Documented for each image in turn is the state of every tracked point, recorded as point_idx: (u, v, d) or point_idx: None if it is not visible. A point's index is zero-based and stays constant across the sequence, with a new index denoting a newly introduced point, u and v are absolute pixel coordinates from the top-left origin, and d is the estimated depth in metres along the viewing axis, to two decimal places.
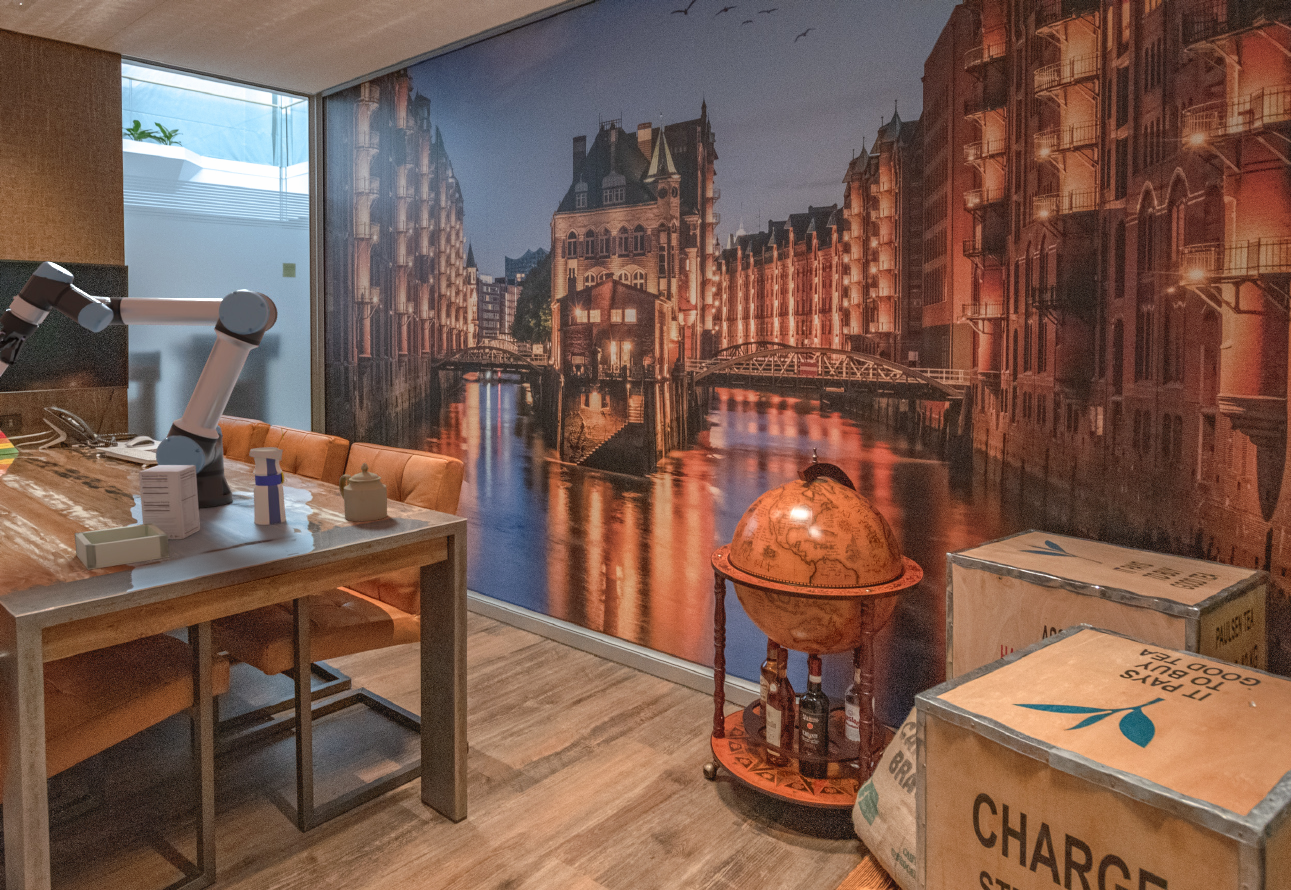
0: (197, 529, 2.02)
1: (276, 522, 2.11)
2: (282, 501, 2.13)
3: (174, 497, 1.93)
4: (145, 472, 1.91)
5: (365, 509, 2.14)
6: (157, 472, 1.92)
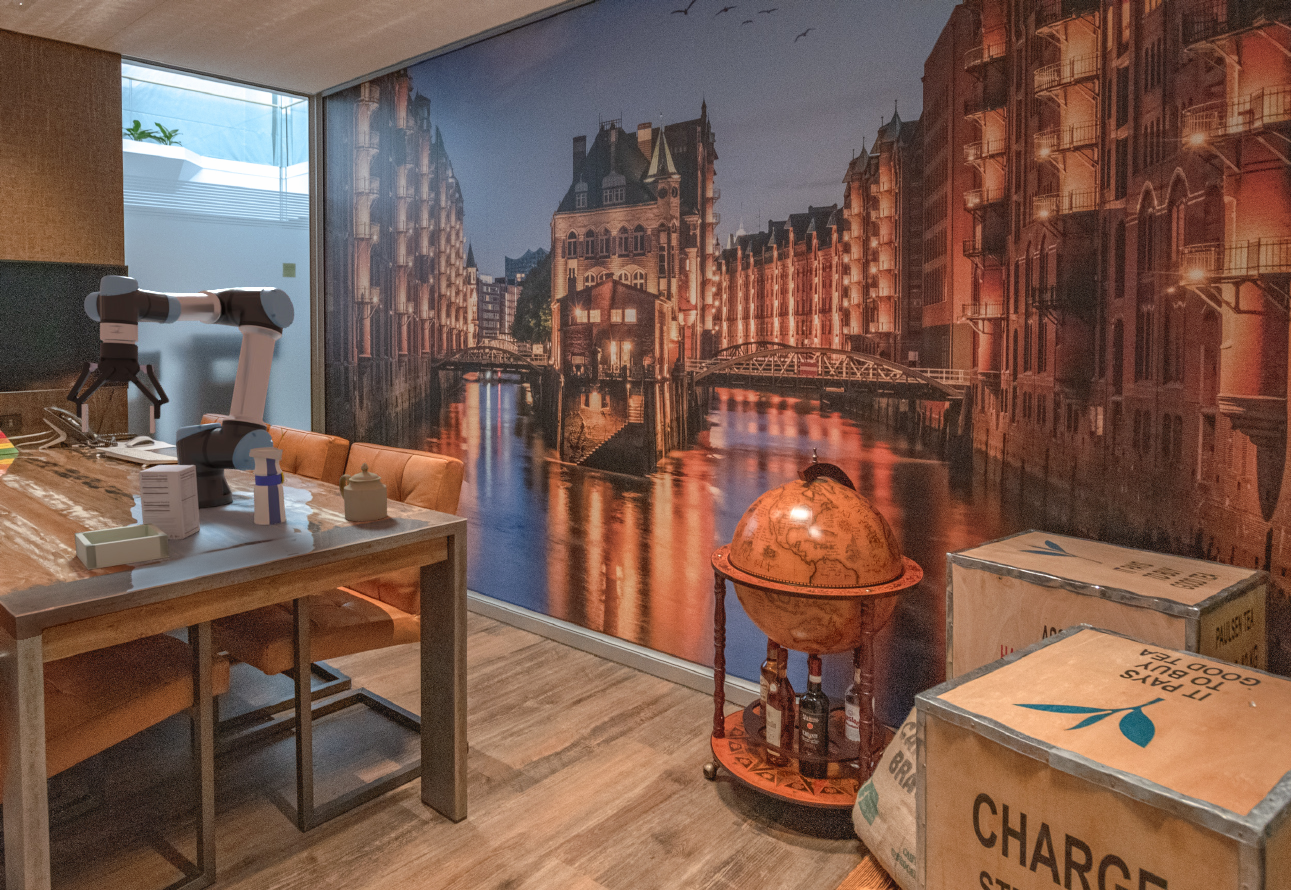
0: (197, 529, 2.02)
1: (276, 522, 2.11)
2: (282, 501, 2.13)
3: (174, 497, 1.93)
4: (145, 472, 1.91)
5: (365, 509, 2.14)
6: (157, 472, 1.92)
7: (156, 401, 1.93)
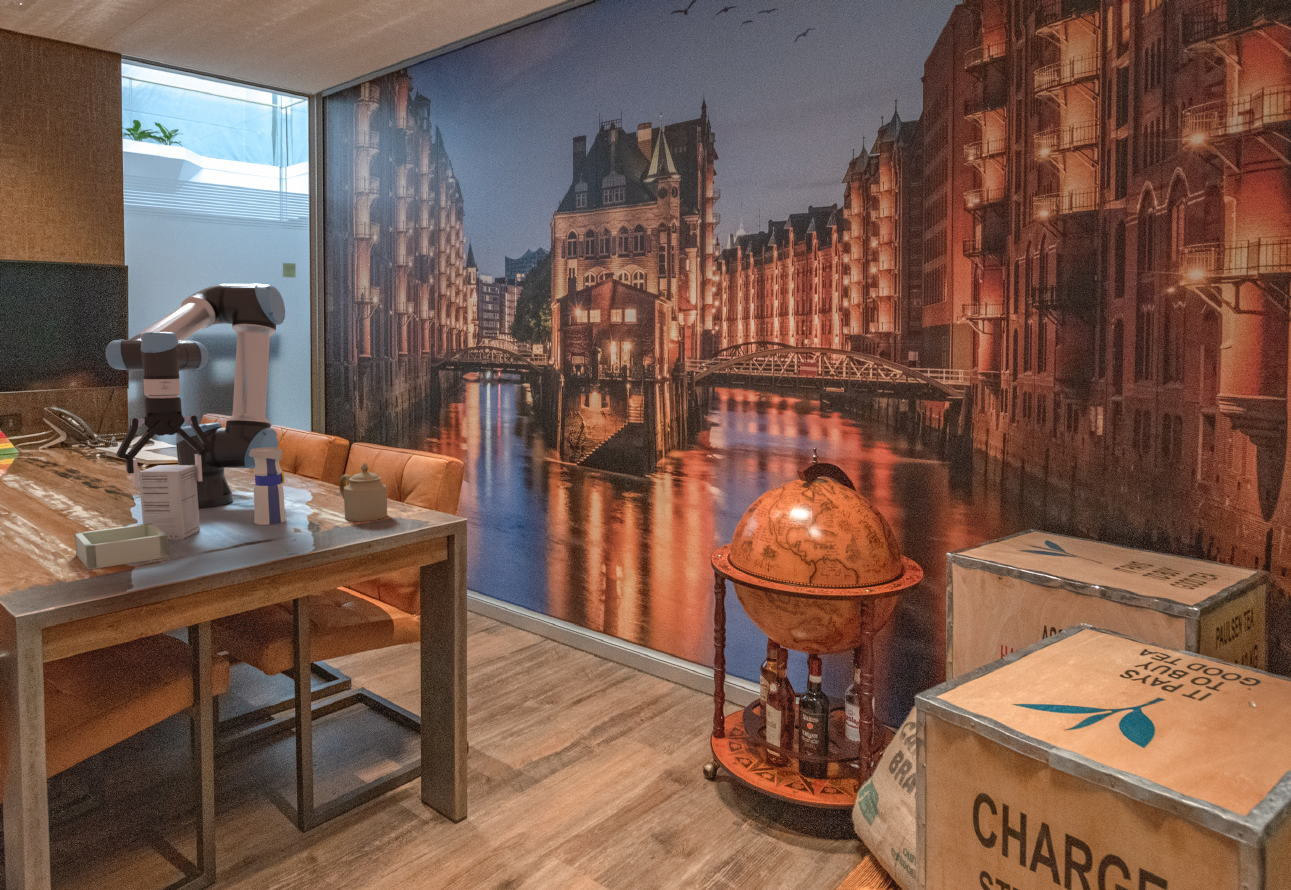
0: (197, 529, 2.02)
1: (276, 522, 2.11)
2: (282, 501, 2.13)
3: (174, 497, 1.93)
4: (145, 472, 1.91)
5: (365, 509, 2.14)
6: (157, 472, 1.92)
7: (203, 450, 2.00)
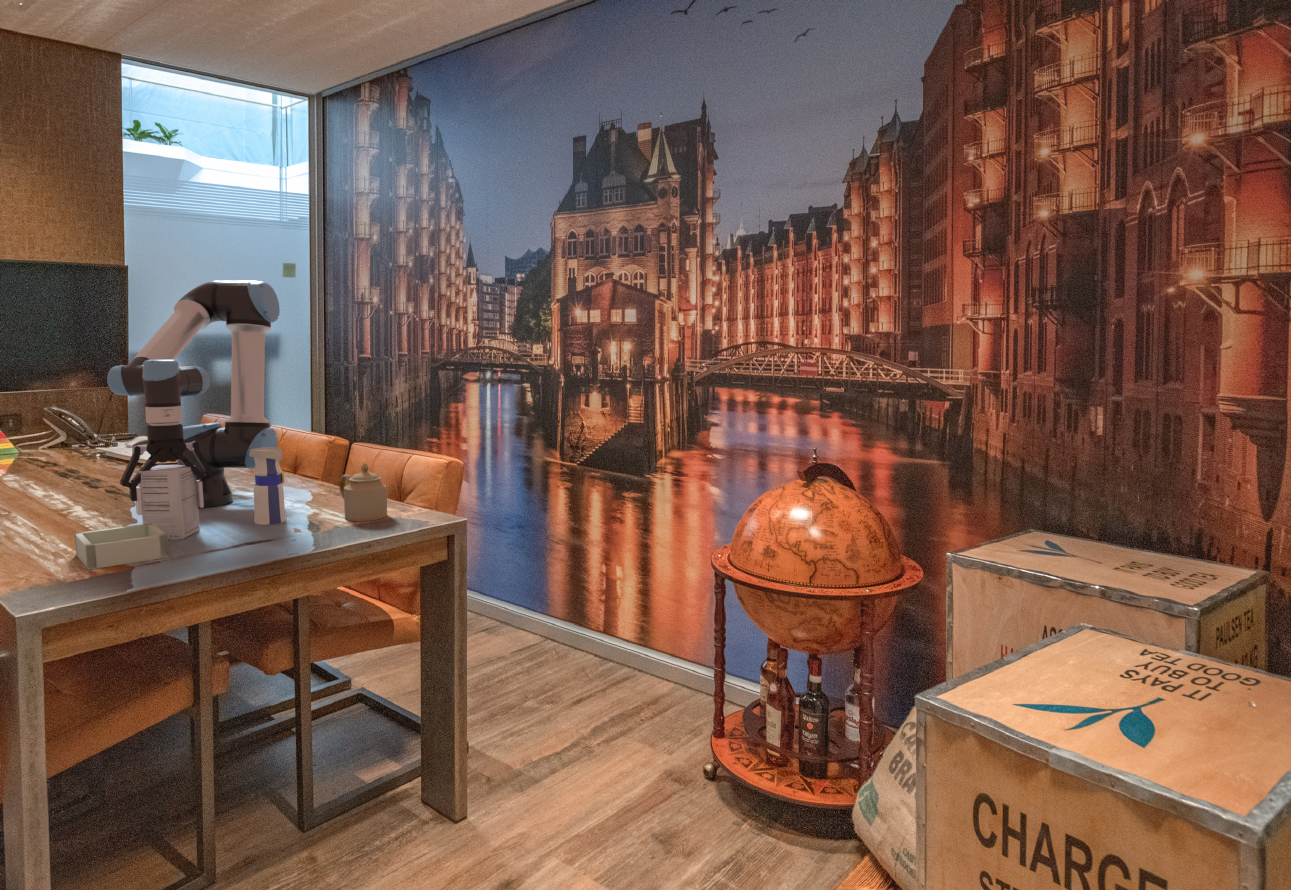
0: (197, 529, 2.02)
1: (276, 522, 2.11)
2: (282, 501, 2.13)
3: (174, 497, 1.93)
4: (145, 472, 1.91)
5: (365, 509, 2.14)
6: (157, 472, 1.91)
7: (204, 477, 2.01)
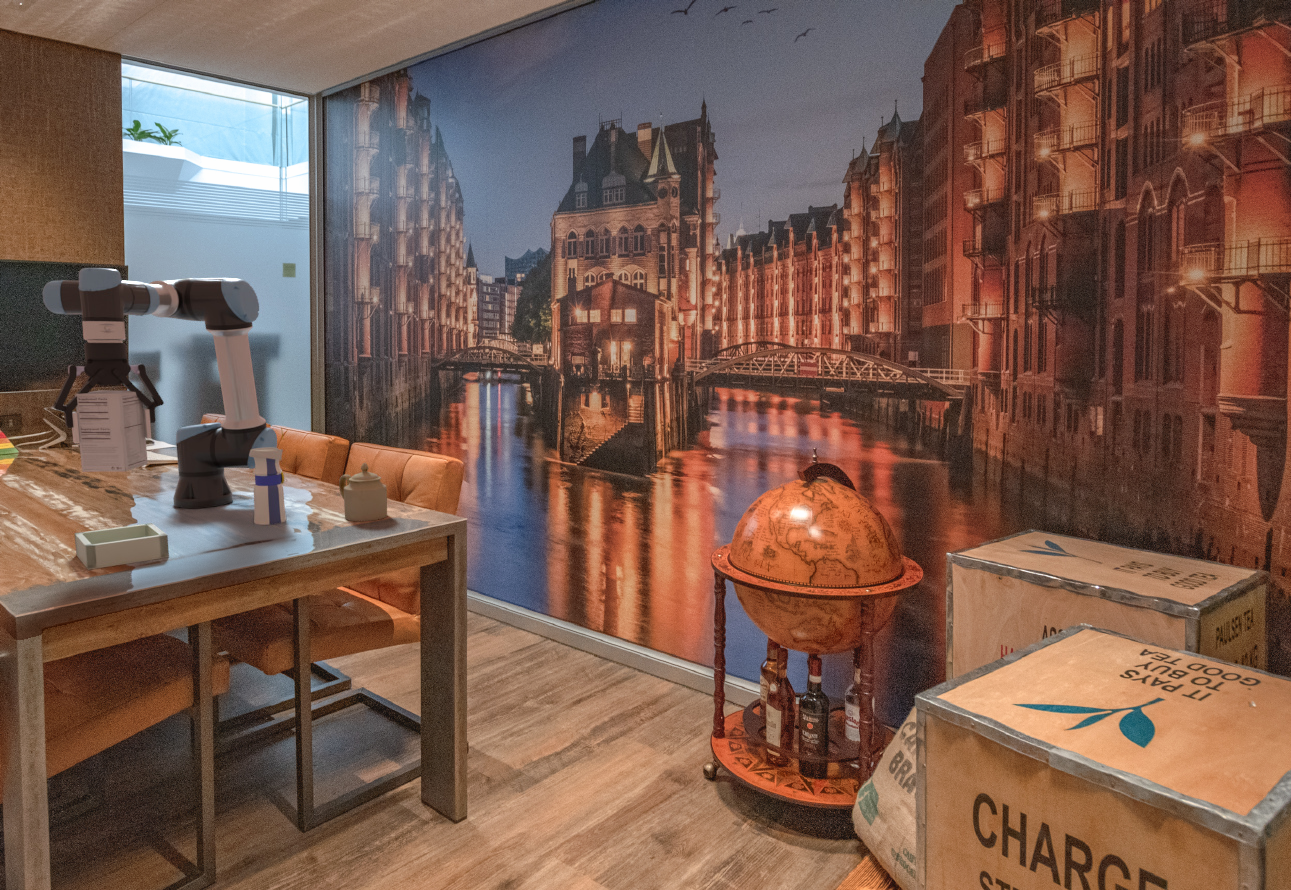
0: (144, 463, 1.80)
1: (276, 522, 2.11)
2: (282, 501, 2.13)
3: (116, 423, 1.71)
4: (82, 395, 1.70)
5: (365, 509, 2.14)
6: (96, 395, 1.70)
7: (151, 404, 1.79)
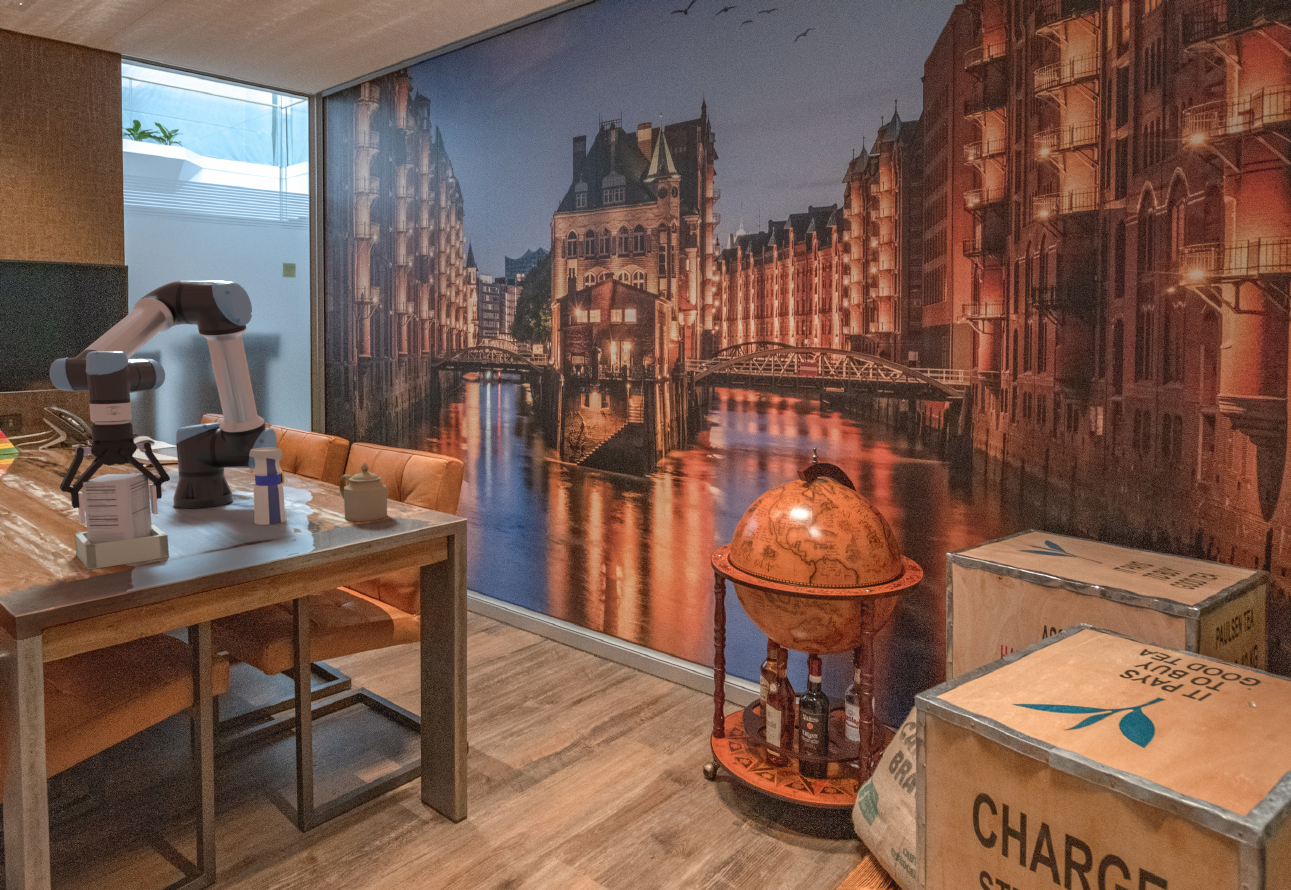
0: None
1: (276, 522, 2.11)
2: (282, 501, 2.13)
3: (124, 510, 1.74)
4: (90, 482, 1.72)
5: (365, 509, 2.14)
6: (104, 482, 1.72)
7: (158, 480, 1.81)
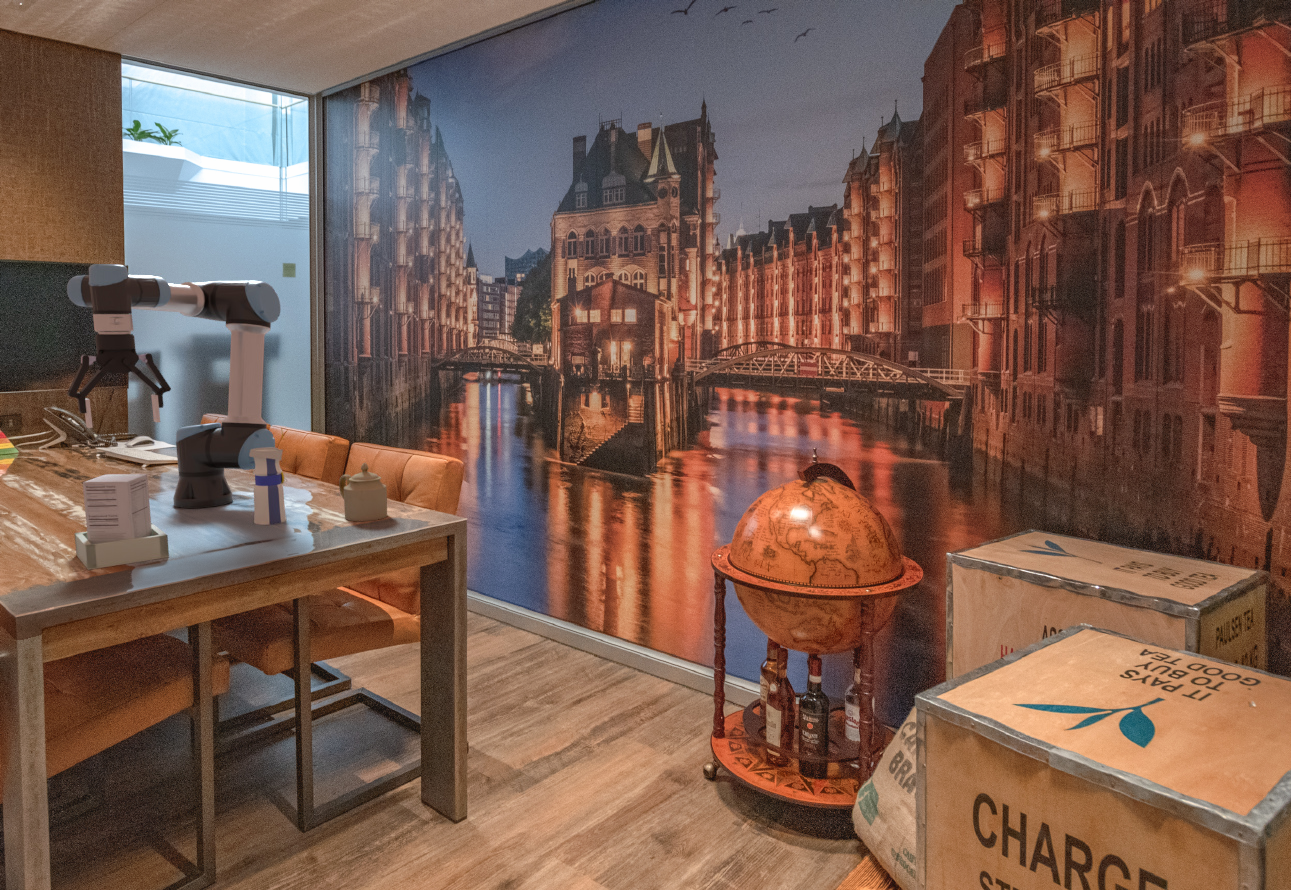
0: None
1: (276, 522, 2.11)
2: (282, 501, 2.13)
3: (124, 510, 1.74)
4: (90, 483, 1.72)
5: (365, 509, 2.14)
6: (104, 482, 1.72)
7: (159, 390, 1.92)
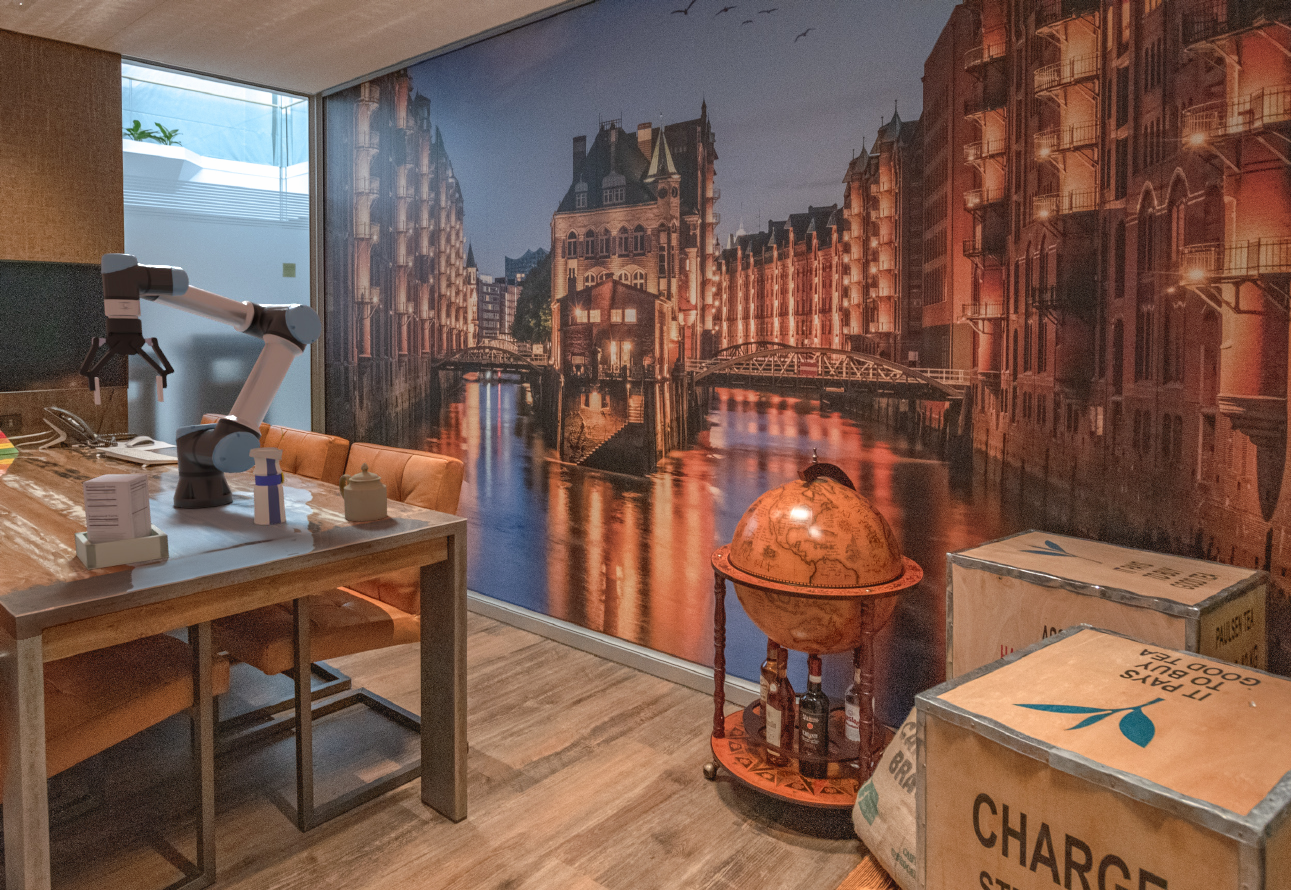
0: None
1: (276, 522, 2.11)
2: (282, 501, 2.13)
3: (124, 510, 1.74)
4: (90, 483, 1.72)
5: (365, 509, 2.14)
6: (104, 482, 1.72)
7: (164, 372, 2.06)
